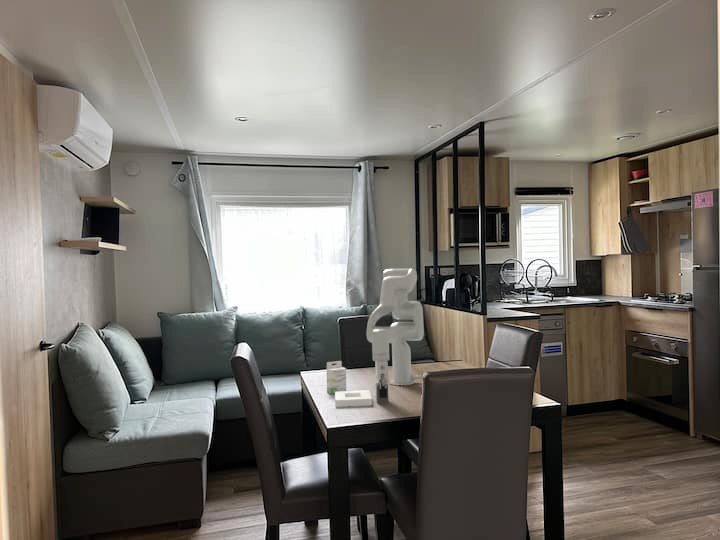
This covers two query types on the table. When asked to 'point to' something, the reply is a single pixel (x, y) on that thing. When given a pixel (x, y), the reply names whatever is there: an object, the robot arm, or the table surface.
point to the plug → (378, 399)
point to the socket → (353, 398)
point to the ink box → (336, 377)
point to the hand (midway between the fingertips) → (382, 395)
